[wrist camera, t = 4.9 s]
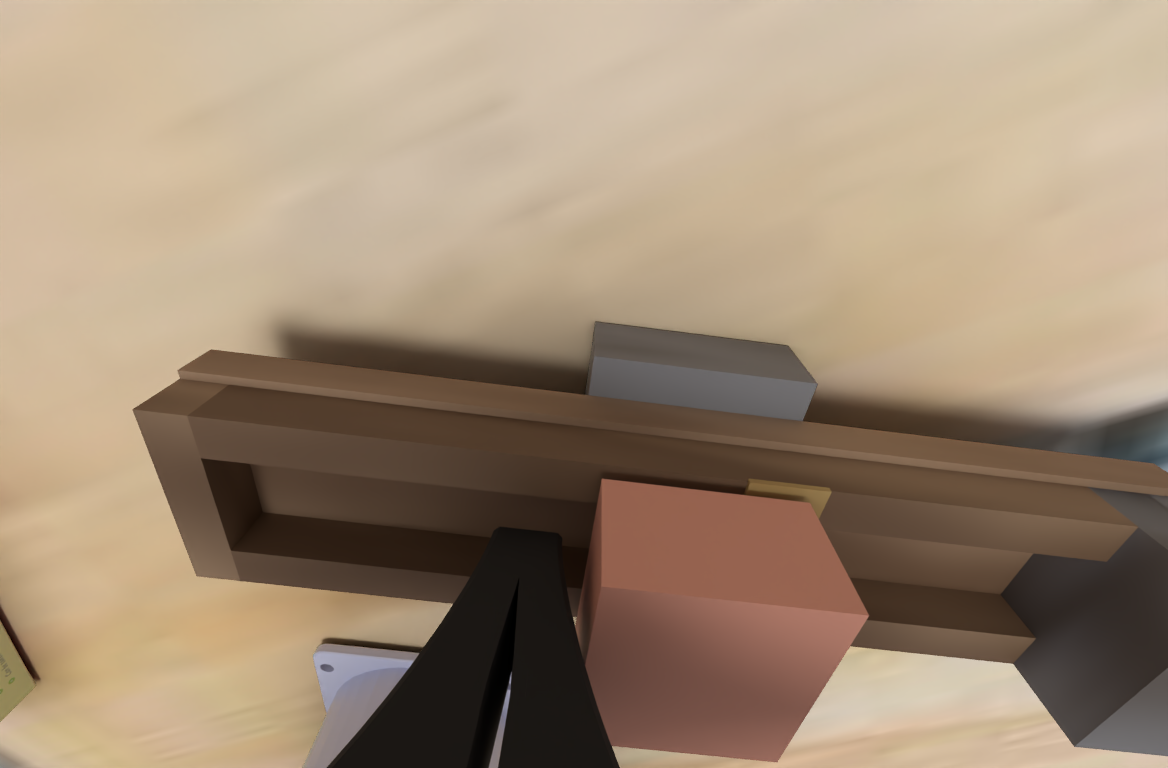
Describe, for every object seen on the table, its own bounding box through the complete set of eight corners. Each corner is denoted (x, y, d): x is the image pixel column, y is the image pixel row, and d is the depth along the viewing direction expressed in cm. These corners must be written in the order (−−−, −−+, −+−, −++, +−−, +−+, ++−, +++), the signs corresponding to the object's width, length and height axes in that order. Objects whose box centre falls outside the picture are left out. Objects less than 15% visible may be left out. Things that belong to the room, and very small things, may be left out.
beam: (972, 568, 16) (1144, 784, 11) (301, 492, 16) (150, 684, 11) (1105, 385, 13) (1444, 573, 8) (256, 279, 12) (1, 405, 7)
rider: (732, 595, 13) (776, 762, 9) (578, 578, 13) (569, 741, 9) (787, 460, 11) (869, 615, 7) (601, 438, 10) (601, 586, 7)
